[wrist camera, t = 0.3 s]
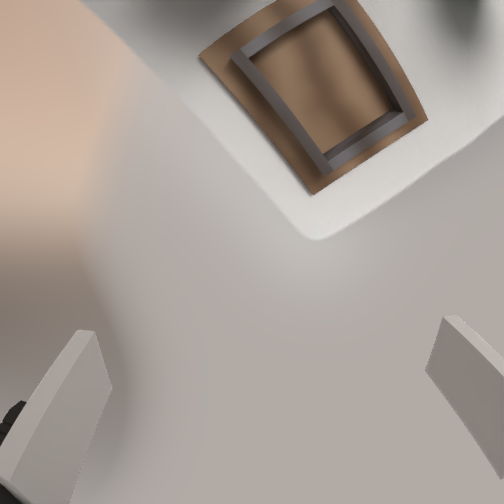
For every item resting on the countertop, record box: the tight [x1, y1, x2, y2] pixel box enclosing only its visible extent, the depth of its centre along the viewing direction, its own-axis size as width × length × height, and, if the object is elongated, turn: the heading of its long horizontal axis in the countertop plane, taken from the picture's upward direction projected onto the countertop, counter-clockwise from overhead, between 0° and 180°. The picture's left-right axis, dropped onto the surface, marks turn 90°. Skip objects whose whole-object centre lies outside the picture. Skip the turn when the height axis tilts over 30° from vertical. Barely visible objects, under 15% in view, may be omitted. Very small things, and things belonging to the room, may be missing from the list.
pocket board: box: [198, 0, 428, 195], centre depth 27 cm, size 17×20×4 cm
